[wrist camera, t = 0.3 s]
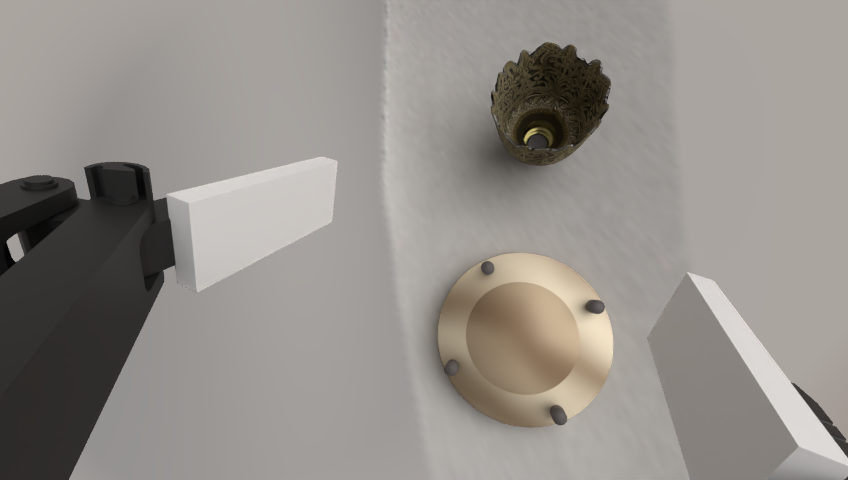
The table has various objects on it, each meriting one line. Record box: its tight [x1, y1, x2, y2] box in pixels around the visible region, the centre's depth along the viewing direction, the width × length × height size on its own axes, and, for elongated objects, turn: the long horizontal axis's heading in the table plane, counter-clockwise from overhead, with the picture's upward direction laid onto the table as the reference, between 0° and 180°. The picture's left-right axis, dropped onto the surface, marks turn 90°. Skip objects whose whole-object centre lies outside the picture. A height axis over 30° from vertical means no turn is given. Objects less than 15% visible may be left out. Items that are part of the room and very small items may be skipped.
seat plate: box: [438, 253, 613, 427], centre depth 28 cm, size 13×13×3 cm
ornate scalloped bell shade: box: [491, 42, 611, 166], centre depth 27 cm, size 8×7×8 cm
